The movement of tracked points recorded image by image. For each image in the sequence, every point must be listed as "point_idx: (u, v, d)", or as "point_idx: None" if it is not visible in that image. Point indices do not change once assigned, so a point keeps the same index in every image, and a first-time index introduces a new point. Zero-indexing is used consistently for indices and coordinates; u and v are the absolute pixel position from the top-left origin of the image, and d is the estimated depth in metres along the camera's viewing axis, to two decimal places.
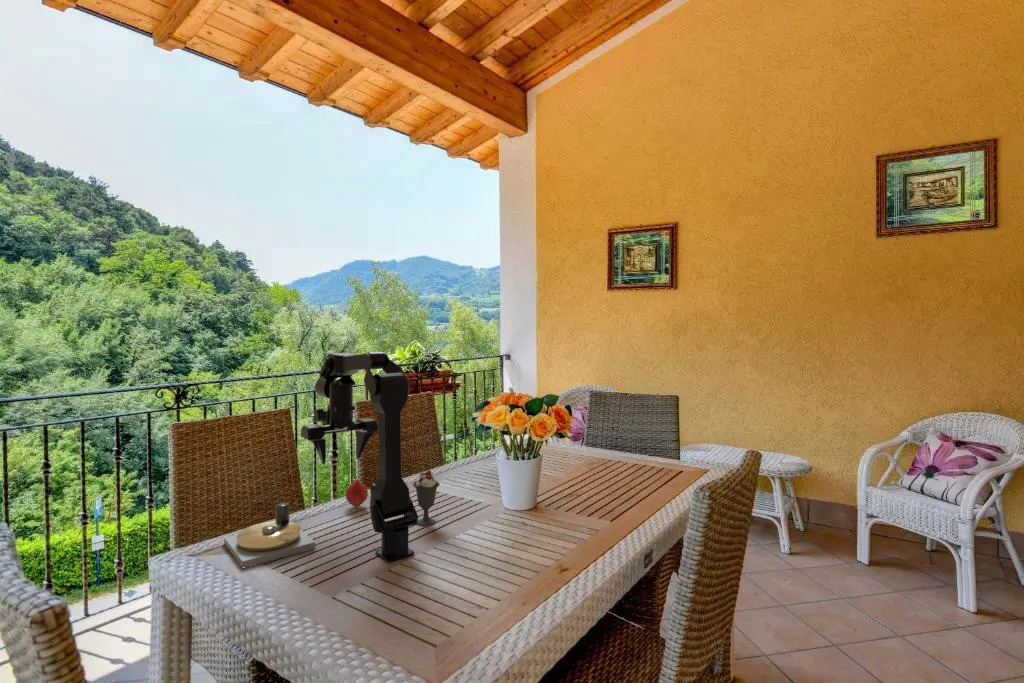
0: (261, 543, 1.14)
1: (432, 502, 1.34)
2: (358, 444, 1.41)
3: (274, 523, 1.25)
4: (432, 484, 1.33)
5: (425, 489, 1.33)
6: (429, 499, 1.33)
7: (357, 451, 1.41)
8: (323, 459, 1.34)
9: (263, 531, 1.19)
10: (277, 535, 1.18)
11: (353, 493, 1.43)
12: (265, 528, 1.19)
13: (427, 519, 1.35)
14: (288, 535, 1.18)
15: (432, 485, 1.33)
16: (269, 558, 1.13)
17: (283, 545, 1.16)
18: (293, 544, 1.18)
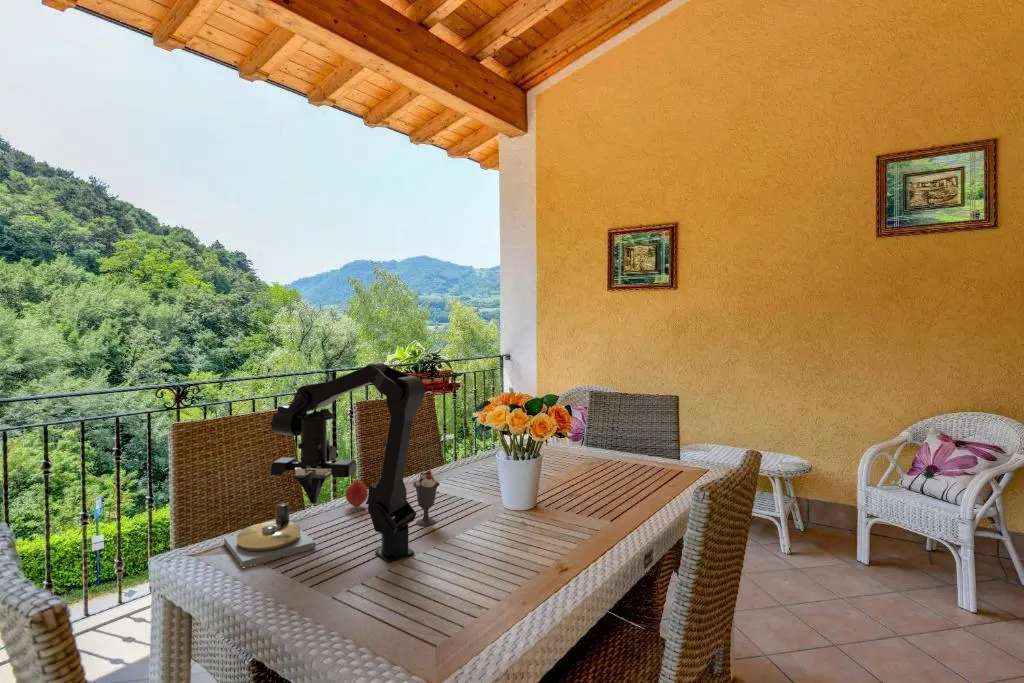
0: (261, 543, 1.14)
1: (432, 502, 1.34)
2: None
3: (274, 523, 1.25)
4: (432, 484, 1.33)
5: (425, 489, 1.33)
6: (429, 499, 1.33)
7: None
8: (309, 498, 1.24)
9: (263, 531, 1.19)
10: (277, 535, 1.18)
11: (353, 493, 1.43)
12: (265, 528, 1.19)
13: (427, 519, 1.35)
14: (288, 535, 1.18)
15: (432, 485, 1.33)
16: (269, 558, 1.13)
17: (283, 545, 1.16)
18: (293, 544, 1.18)
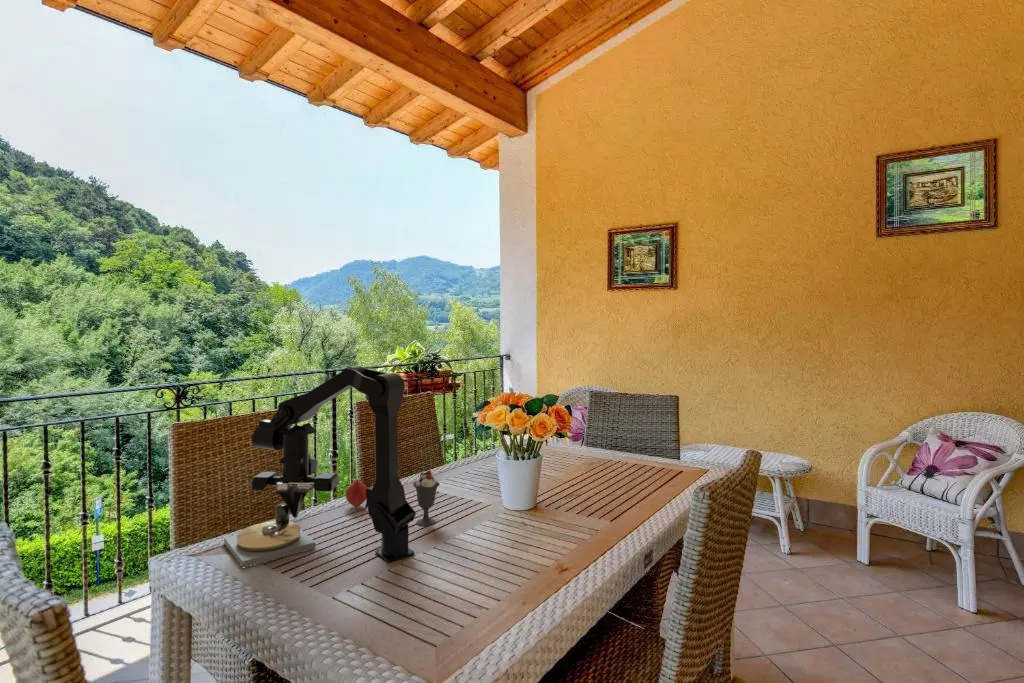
0: (261, 543, 1.14)
1: (432, 502, 1.34)
2: None
3: (274, 523, 1.25)
4: (432, 484, 1.33)
5: (425, 489, 1.33)
6: (429, 499, 1.33)
7: None
8: (291, 512, 1.25)
9: (263, 531, 1.19)
10: (277, 535, 1.18)
11: (353, 493, 1.43)
12: (265, 528, 1.19)
13: (427, 519, 1.35)
14: (288, 535, 1.18)
15: (432, 485, 1.33)
16: (269, 558, 1.13)
17: (283, 545, 1.16)
18: (293, 544, 1.18)
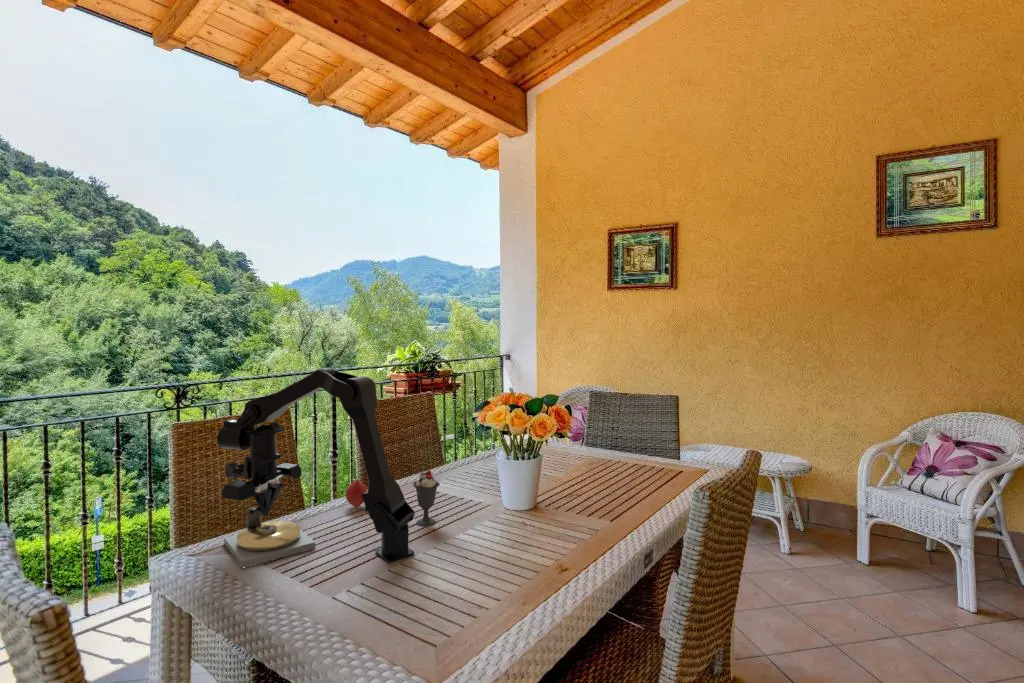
0: (290, 536, 1.18)
1: (432, 502, 1.34)
2: None
3: (251, 529, 1.21)
4: (432, 484, 1.33)
5: (425, 489, 1.33)
6: (429, 499, 1.33)
7: None
8: (267, 510, 1.25)
9: (270, 531, 1.19)
10: (284, 529, 1.21)
11: (353, 493, 1.43)
12: (268, 529, 1.19)
13: (427, 519, 1.35)
14: (292, 526, 1.24)
15: (432, 485, 1.33)
16: (269, 558, 1.13)
17: None
18: (293, 544, 1.18)
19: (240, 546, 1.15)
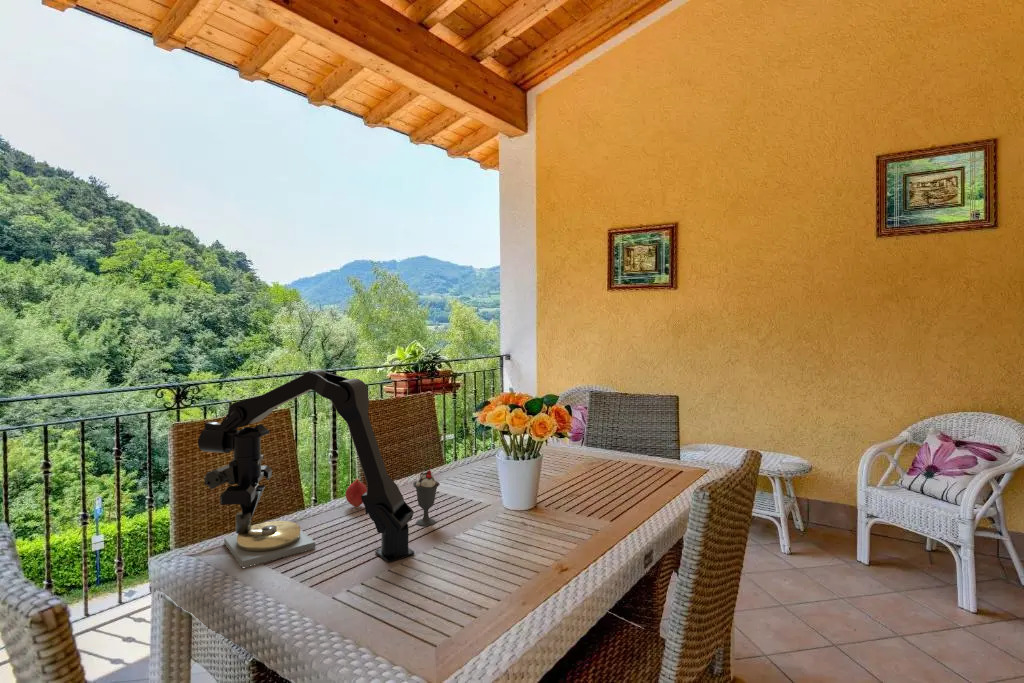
0: (297, 530, 1.21)
1: (432, 502, 1.34)
2: None
3: (244, 533, 1.19)
4: (432, 484, 1.33)
5: (425, 489, 1.33)
6: (429, 499, 1.33)
7: None
8: (252, 514, 1.23)
9: (273, 530, 1.19)
10: (282, 527, 1.23)
11: (353, 493, 1.43)
12: (270, 528, 1.19)
13: (427, 519, 1.35)
14: (285, 523, 1.25)
15: (432, 485, 1.33)
16: (269, 558, 1.13)
17: None
18: (293, 544, 1.18)
19: (252, 549, 1.14)
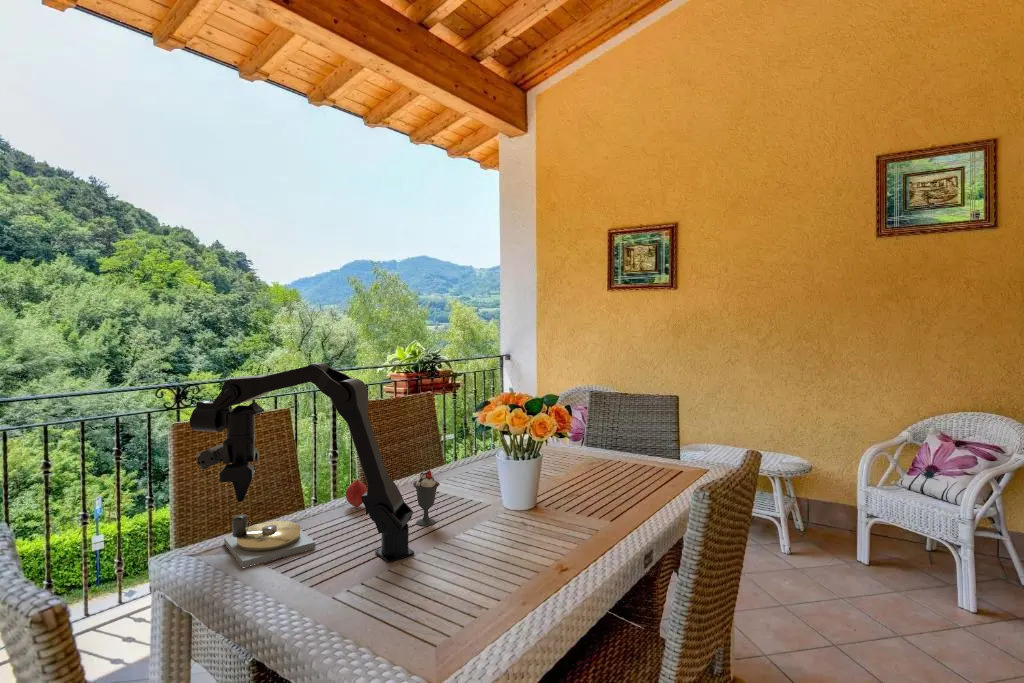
0: (297, 527, 1.23)
1: (432, 502, 1.34)
2: None
3: (244, 536, 1.17)
4: (432, 484, 1.33)
5: (425, 489, 1.33)
6: (429, 499, 1.33)
7: None
8: (245, 494, 1.20)
9: (275, 529, 1.20)
10: (278, 526, 1.23)
11: (353, 493, 1.43)
12: (271, 528, 1.19)
13: (427, 519, 1.35)
14: (278, 523, 1.25)
15: (432, 485, 1.33)
16: (269, 558, 1.13)
17: None
18: (293, 544, 1.18)
19: (262, 549, 1.14)
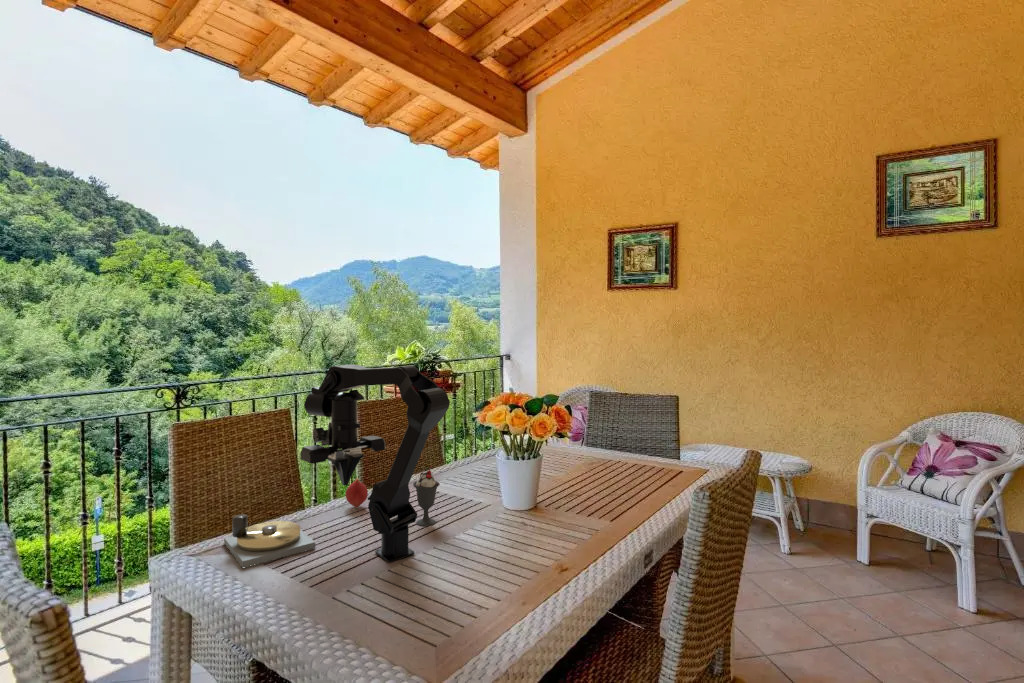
0: (297, 527, 1.23)
1: (432, 502, 1.34)
2: None
3: (244, 536, 1.17)
4: (432, 484, 1.33)
5: (425, 489, 1.33)
6: (429, 499, 1.33)
7: None
8: (344, 480, 1.23)
9: (275, 529, 1.20)
10: (278, 526, 1.23)
11: (353, 493, 1.43)
12: (271, 528, 1.19)
13: (427, 519, 1.35)
14: (278, 523, 1.25)
15: (432, 485, 1.33)
16: (269, 558, 1.13)
17: None
18: (293, 544, 1.18)
19: (262, 549, 1.14)
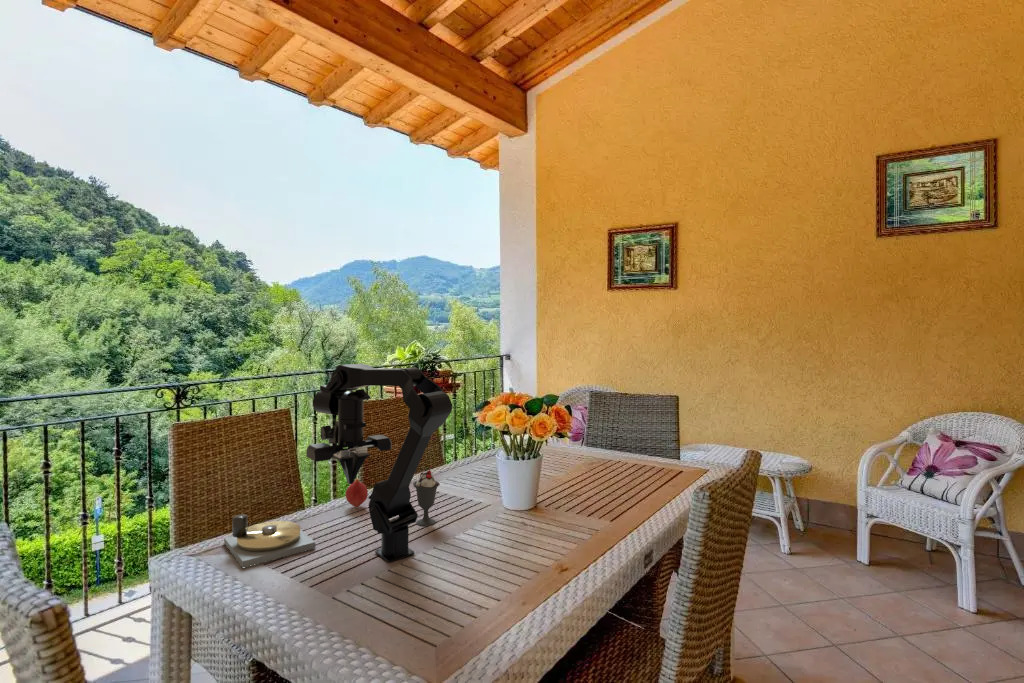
0: (297, 527, 1.23)
1: (432, 502, 1.34)
2: None
3: (244, 536, 1.17)
4: (432, 484, 1.33)
5: (425, 489, 1.33)
6: (429, 499, 1.33)
7: None
8: (350, 478, 1.24)
9: (275, 529, 1.20)
10: (278, 526, 1.23)
11: (353, 493, 1.43)
12: (271, 528, 1.19)
13: (427, 519, 1.35)
14: (278, 523, 1.25)
15: (432, 485, 1.33)
16: (269, 558, 1.13)
17: None
18: (293, 544, 1.18)
19: (262, 549, 1.14)
